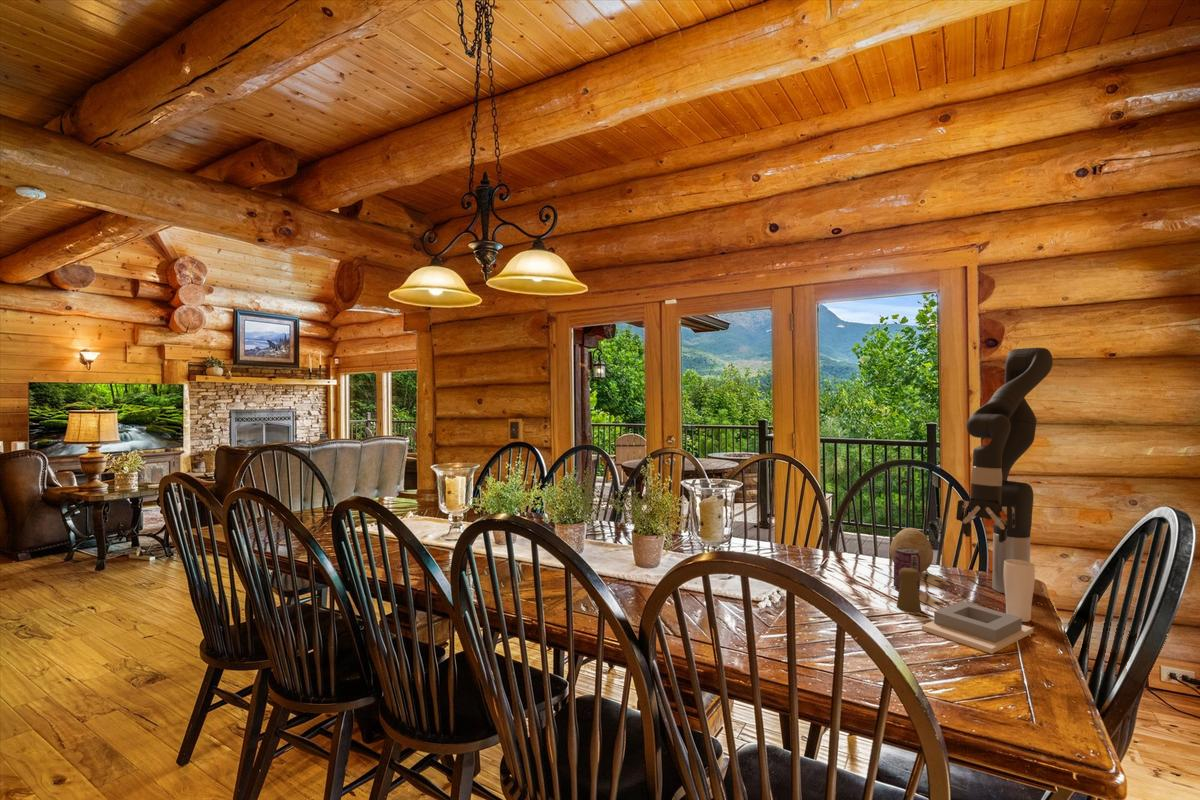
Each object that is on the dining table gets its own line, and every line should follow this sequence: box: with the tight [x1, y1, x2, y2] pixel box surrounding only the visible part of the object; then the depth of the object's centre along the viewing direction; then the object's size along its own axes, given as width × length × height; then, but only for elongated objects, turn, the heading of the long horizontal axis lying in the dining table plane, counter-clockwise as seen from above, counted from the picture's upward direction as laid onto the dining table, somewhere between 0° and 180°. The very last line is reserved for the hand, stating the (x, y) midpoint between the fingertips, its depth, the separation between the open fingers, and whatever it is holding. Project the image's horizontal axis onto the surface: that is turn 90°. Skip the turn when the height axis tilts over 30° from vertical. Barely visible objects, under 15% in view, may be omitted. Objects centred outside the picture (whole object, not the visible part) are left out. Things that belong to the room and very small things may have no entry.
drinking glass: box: [1004, 559, 1036, 623], centre depth 157 cm, size 7×7×15 cm
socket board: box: [921, 600, 1034, 655], centre depth 148 cm, size 22×16×4 cm
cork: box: [896, 568, 922, 613], centre depth 164 cm, size 6×6×11 cm
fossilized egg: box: [889, 527, 934, 574], centre depth 196 cm, size 13×13×15 cm
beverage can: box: [893, 547, 921, 590], centre depth 180 cm, size 7×7×12 cm
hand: (984, 539), depth 170 cm, fingers open, 8 cm apart
